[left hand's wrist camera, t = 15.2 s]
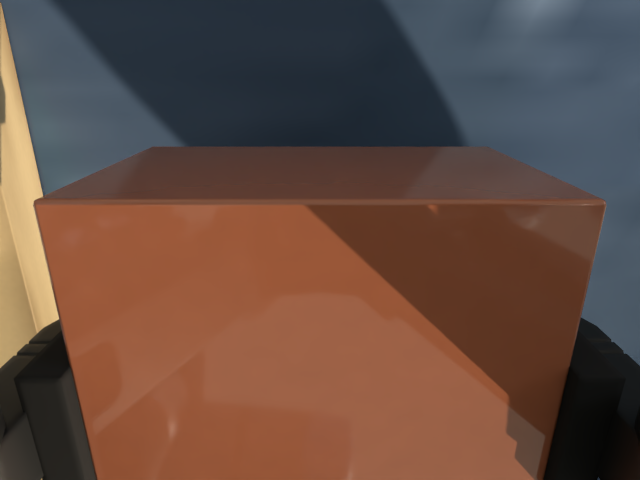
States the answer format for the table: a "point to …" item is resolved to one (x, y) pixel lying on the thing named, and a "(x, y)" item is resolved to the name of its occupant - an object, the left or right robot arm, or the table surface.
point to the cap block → (319, 311)
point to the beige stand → (19, 221)
